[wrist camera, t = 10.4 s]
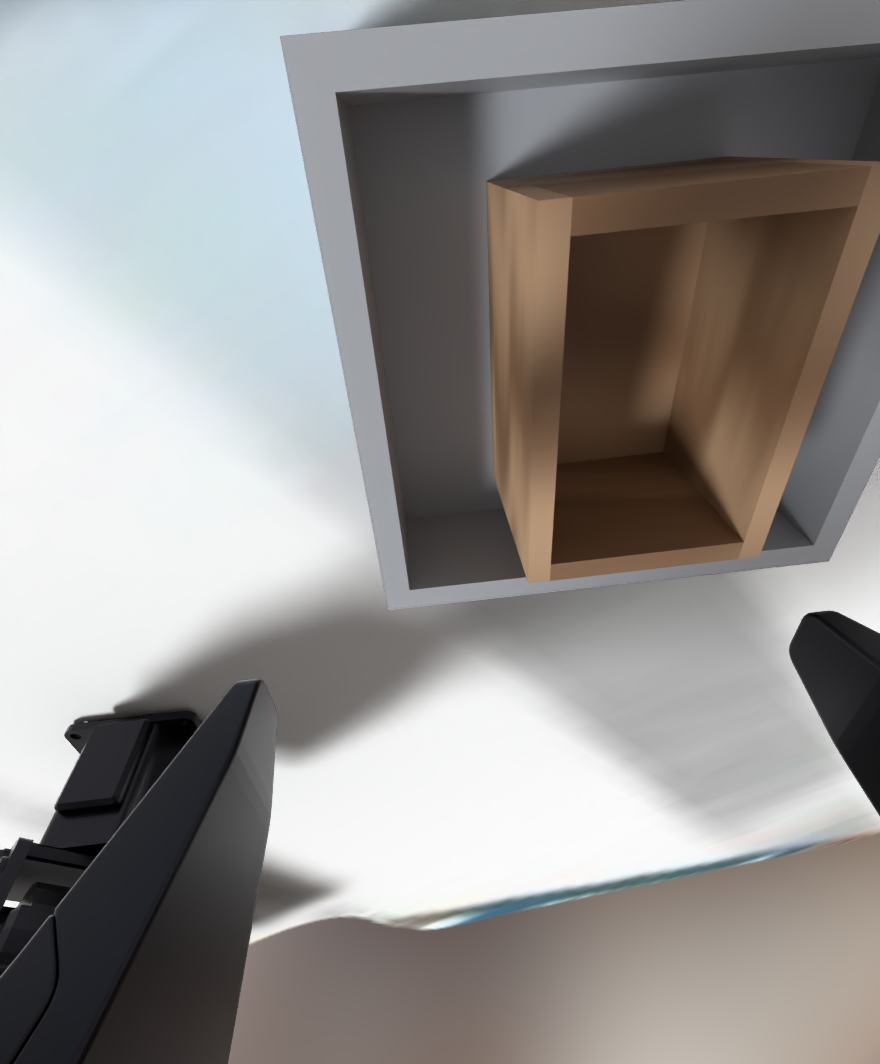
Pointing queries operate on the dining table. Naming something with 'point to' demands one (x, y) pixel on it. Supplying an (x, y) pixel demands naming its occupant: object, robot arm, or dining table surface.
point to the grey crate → (545, 149)
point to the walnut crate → (664, 350)
